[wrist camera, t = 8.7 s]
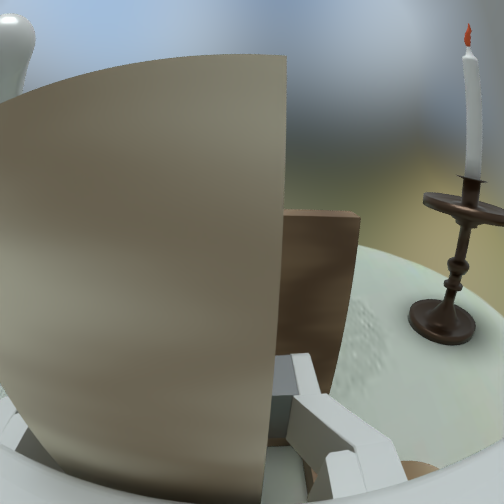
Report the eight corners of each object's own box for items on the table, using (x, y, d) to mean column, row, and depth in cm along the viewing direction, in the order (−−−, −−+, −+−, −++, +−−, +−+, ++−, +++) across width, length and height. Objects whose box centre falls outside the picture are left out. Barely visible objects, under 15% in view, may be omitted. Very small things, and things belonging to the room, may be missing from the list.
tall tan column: (161, 553, 6) (-62, 137, 1) (180, 436, 13) (137, 133, 8) (252, 560, 6) (286, 54, 2) (250, 440, 13) (255, 129, 8)
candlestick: (493, 337, 25) (523, 37, 13) (435, 359, 23) (463, -10, 11) (444, 297, 35) (463, 48, 23) (385, 307, 33) (401, 19, 21)
